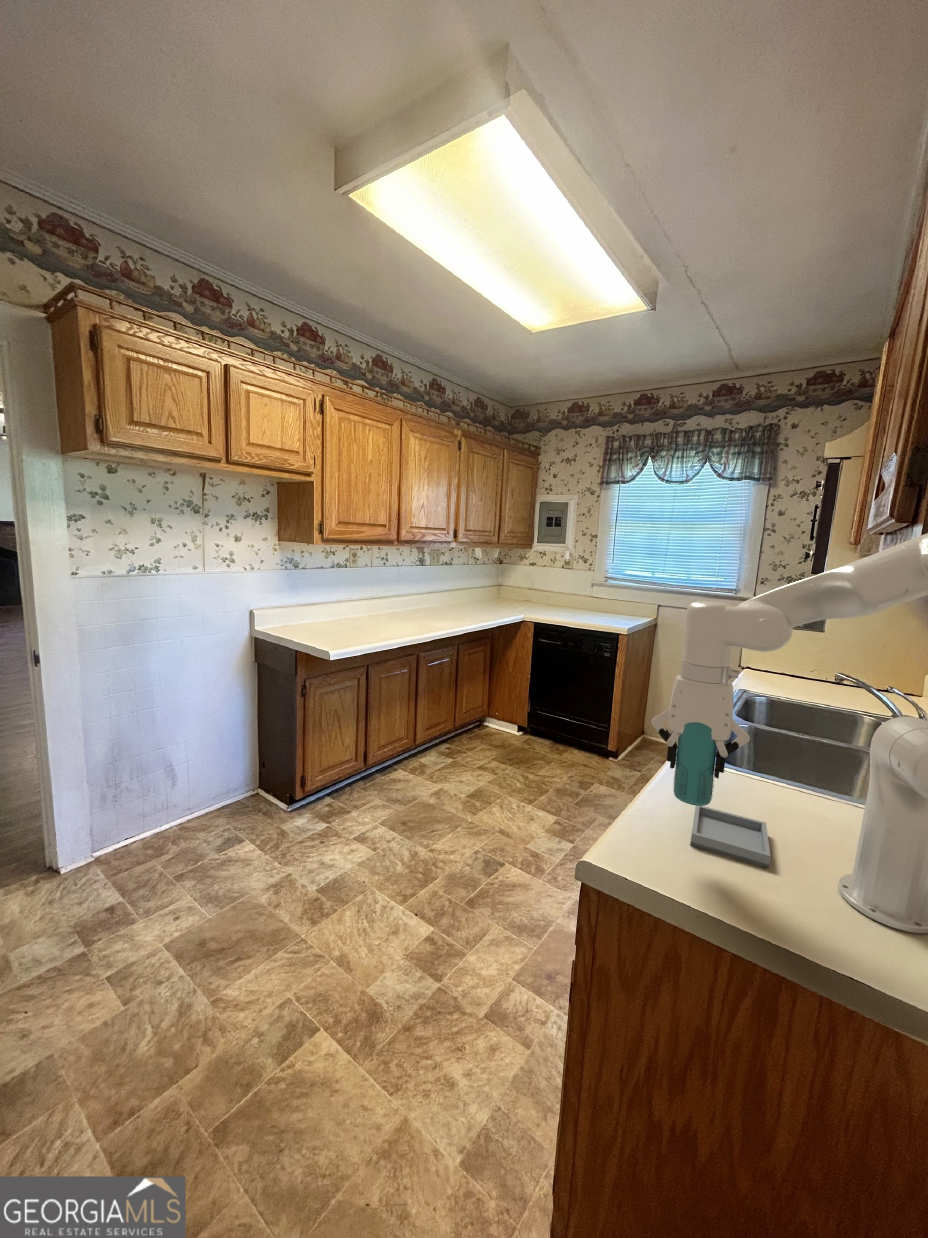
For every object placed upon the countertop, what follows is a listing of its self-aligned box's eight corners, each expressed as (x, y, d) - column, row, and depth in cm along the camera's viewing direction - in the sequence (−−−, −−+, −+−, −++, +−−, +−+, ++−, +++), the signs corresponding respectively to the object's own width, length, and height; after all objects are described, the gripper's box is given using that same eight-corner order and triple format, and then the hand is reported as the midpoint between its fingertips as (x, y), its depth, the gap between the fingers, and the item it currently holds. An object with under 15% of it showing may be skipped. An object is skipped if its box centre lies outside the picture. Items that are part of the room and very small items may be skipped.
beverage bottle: (715, 817, 86) (728, 705, 83) (674, 811, 87) (685, 701, 85) (705, 798, 92) (716, 694, 90) (667, 794, 94) (677, 691, 91)
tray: (764, 834, 101) (766, 822, 101) (768, 869, 90) (770, 856, 90) (694, 815, 107) (695, 804, 107) (690, 845, 96) (691, 833, 96)
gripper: (760, 675, 86) (749, 774, 88) (654, 662, 94) (646, 752, 96) (763, 685, 79) (750, 791, 82) (648, 670, 87) (640, 767, 90)
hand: (694, 769), depth 89 cm, fingers closed on beverage bottle, 6 cm apart
